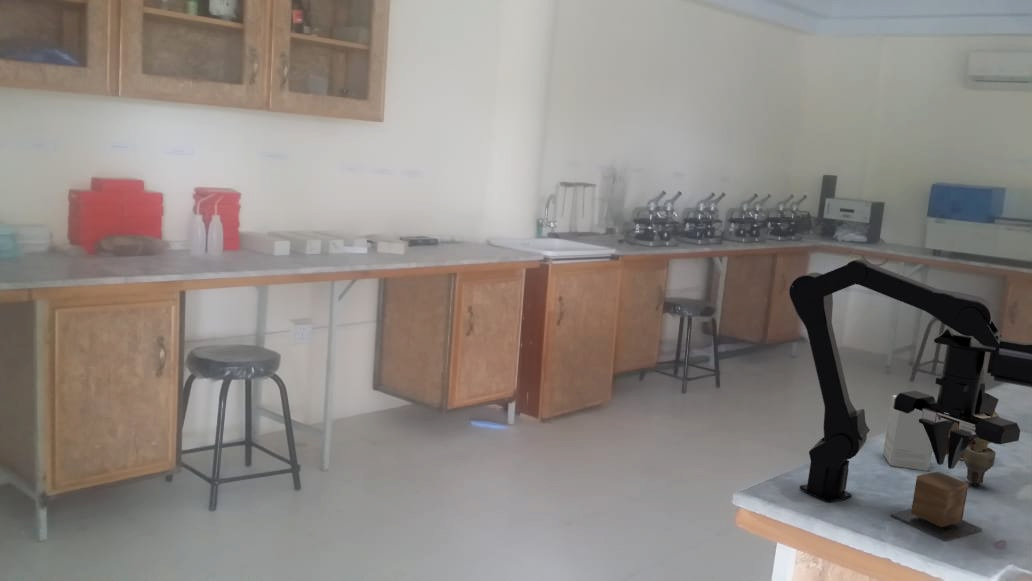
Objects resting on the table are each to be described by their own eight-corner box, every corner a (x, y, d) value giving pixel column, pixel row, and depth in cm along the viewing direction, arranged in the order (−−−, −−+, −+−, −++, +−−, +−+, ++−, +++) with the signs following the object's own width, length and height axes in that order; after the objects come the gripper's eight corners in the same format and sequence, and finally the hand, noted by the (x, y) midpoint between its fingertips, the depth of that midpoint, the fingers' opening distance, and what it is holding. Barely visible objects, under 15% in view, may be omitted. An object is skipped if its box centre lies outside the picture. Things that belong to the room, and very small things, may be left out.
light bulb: (988, 493, 163) (1002, 415, 161) (955, 485, 166) (969, 408, 164) (990, 485, 168) (1004, 408, 166) (958, 477, 171) (972, 402, 168)
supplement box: (929, 471, 173) (940, 409, 170) (889, 466, 174) (899, 404, 172) (920, 459, 180) (930, 398, 178) (881, 453, 181) (891, 393, 179)
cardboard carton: (941, 527, 144) (948, 488, 143) (910, 513, 149) (917, 475, 148) (961, 521, 147) (968, 483, 146) (931, 508, 152) (937, 471, 150)
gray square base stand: (945, 541, 141) (952, 499, 140) (890, 515, 149) (896, 476, 148) (981, 530, 146) (989, 490, 145) (926, 506, 155) (933, 468, 153)
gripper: (1047, 386, 140) (1029, 480, 143) (938, 356, 155) (924, 441, 158) (1007, 392, 134) (989, 490, 137) (898, 360, 150) (884, 449, 152)
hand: (945, 466), depth 146 cm, fingers closed
